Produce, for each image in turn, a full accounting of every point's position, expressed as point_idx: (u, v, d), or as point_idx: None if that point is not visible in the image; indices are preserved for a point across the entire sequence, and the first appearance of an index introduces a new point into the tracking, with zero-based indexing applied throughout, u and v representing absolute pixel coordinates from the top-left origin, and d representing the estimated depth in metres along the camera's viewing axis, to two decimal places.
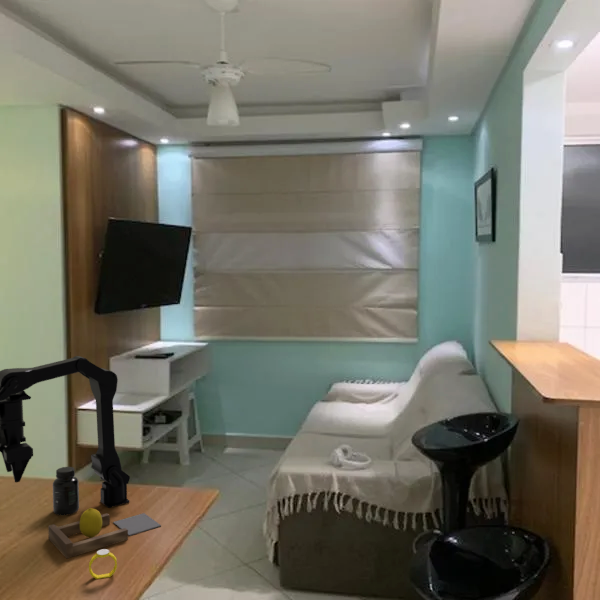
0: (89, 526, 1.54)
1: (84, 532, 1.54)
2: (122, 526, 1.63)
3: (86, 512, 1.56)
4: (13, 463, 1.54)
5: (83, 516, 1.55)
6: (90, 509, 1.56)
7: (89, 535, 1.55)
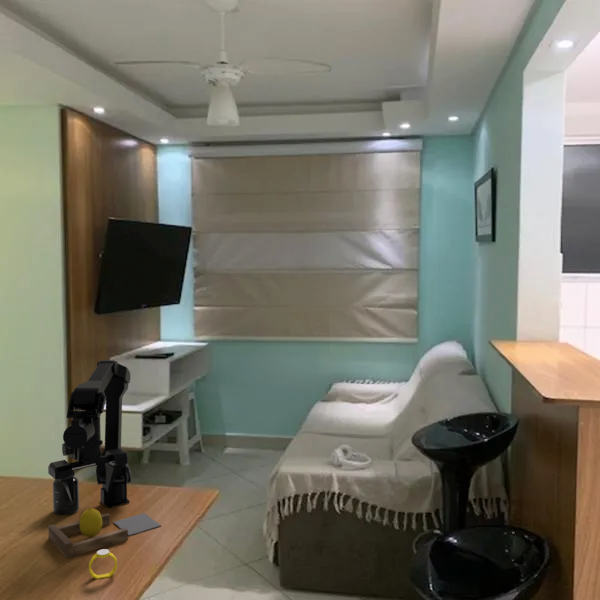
0: (89, 526, 1.54)
1: (84, 532, 1.54)
2: (122, 526, 1.63)
3: (86, 512, 1.56)
4: None
5: (83, 516, 1.55)
6: (90, 509, 1.56)
7: (89, 535, 1.55)
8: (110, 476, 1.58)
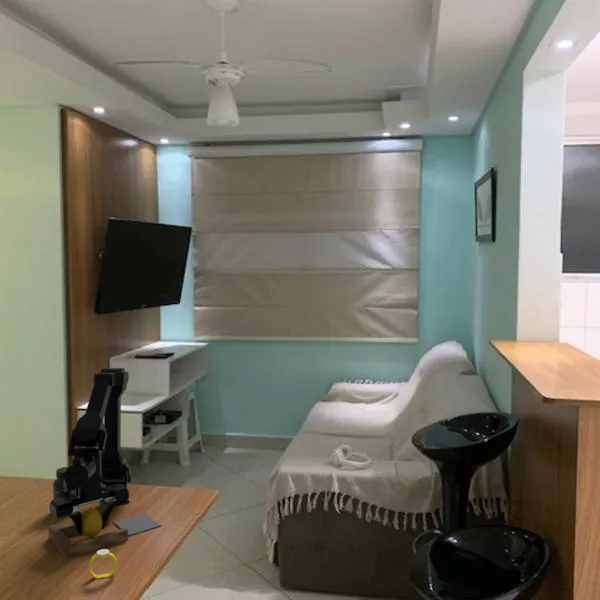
0: (89, 526, 1.54)
1: (84, 532, 1.54)
2: (122, 526, 1.63)
3: (86, 512, 1.55)
4: None
5: (83, 516, 1.55)
6: (90, 509, 1.56)
7: (89, 535, 1.55)
8: (105, 514, 1.57)
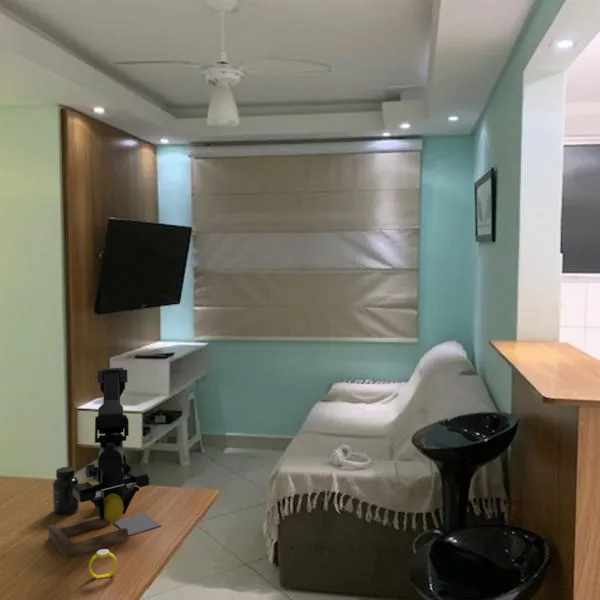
0: (111, 511, 1.58)
1: (106, 517, 1.58)
2: (122, 526, 1.63)
3: (108, 497, 1.59)
4: None
5: (105, 501, 1.59)
6: (112, 494, 1.60)
7: (111, 520, 1.58)
8: (126, 499, 1.61)
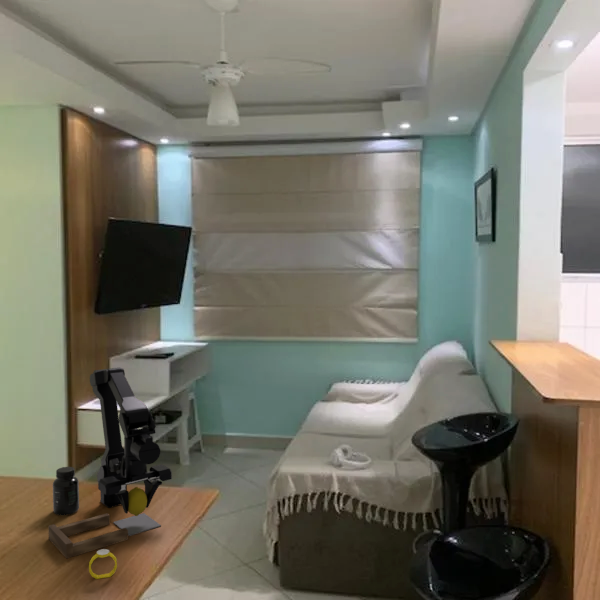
0: (136, 504, 1.62)
1: (130, 510, 1.62)
2: (122, 526, 1.63)
3: (132, 491, 1.63)
4: None
5: (129, 494, 1.63)
6: (136, 488, 1.64)
7: (135, 513, 1.63)
8: (149, 492, 1.65)
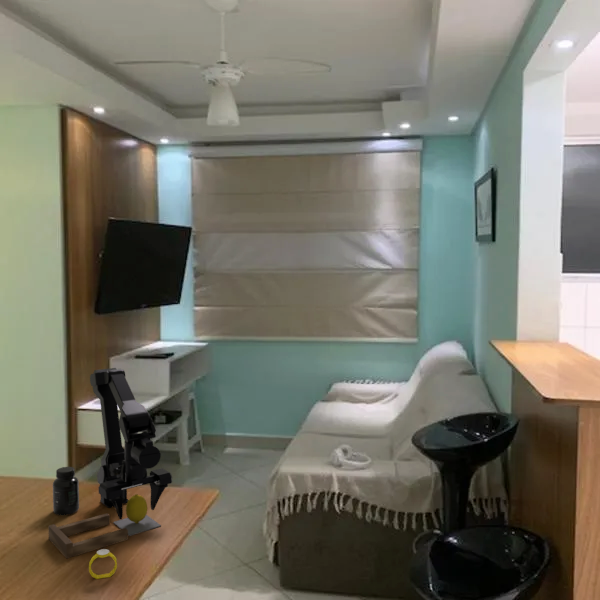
0: (136, 512, 1.62)
1: (131, 517, 1.62)
2: (122, 526, 1.63)
3: (132, 498, 1.64)
4: None
5: (130, 502, 1.63)
6: (136, 495, 1.64)
7: (135, 520, 1.63)
8: (155, 495, 1.66)
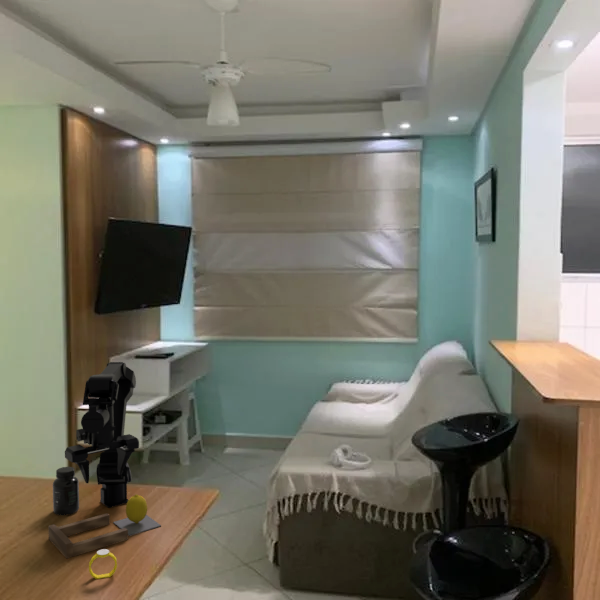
0: (136, 512, 1.62)
1: (131, 517, 1.62)
2: (122, 526, 1.63)
3: (132, 498, 1.64)
4: None
5: (130, 502, 1.63)
6: (136, 495, 1.64)
7: (135, 520, 1.63)
8: (122, 460, 1.68)
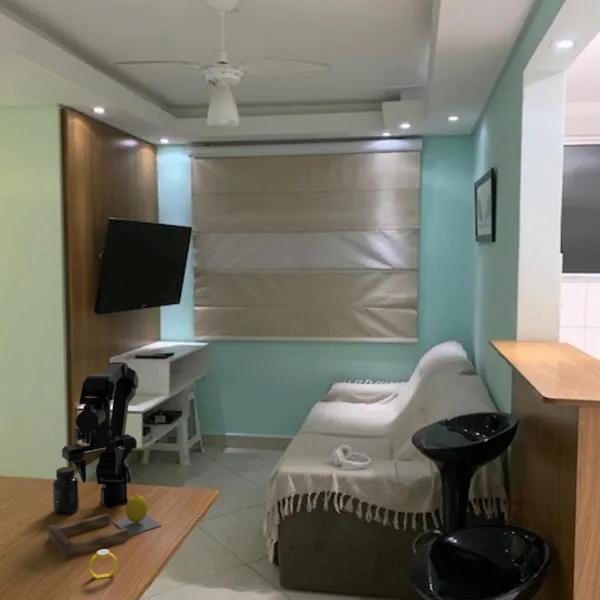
0: (136, 512, 1.62)
1: (131, 517, 1.62)
2: (122, 526, 1.63)
3: (132, 498, 1.64)
4: None
5: (130, 502, 1.63)
6: (136, 495, 1.64)
7: (135, 520, 1.63)
8: (119, 460, 1.68)
